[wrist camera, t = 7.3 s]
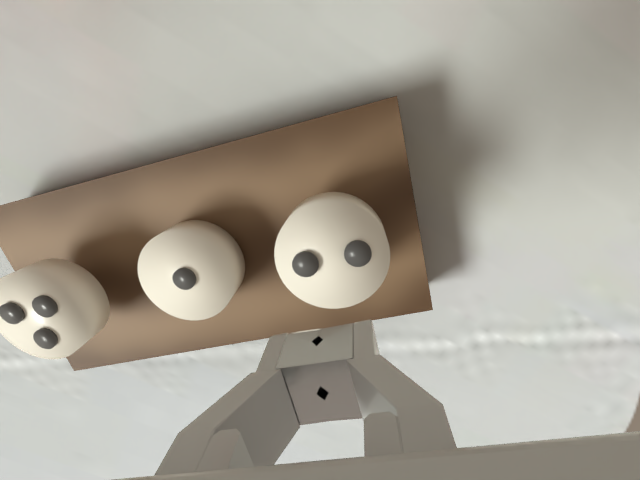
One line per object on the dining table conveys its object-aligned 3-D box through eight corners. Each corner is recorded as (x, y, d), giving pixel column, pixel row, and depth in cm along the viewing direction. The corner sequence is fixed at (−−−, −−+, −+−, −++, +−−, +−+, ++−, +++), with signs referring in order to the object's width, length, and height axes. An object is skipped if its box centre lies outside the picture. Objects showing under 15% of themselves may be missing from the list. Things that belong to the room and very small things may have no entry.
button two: (269, 205, 16) (258, 217, 14) (374, 180, 15) (378, 189, 13) (298, 296, 18) (291, 319, 16) (394, 278, 17) (400, 300, 15)
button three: (6, 268, 19) (-37, 286, 17) (83, 249, 18) (49, 266, 16) (51, 343, 20) (18, 368, 18) (124, 329, 20) (98, 353, 18)
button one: (143, 231, 19) (118, 244, 17) (227, 210, 18) (211, 222, 16) (178, 308, 20) (159, 329, 18) (256, 293, 20) (245, 313, 18)
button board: (25, 200, 23) (-21, 211, 20) (389, 99, 19) (396, 95, 16) (103, 344, 26) (74, 370, 23) (422, 286, 22) (432, 309, 19)
